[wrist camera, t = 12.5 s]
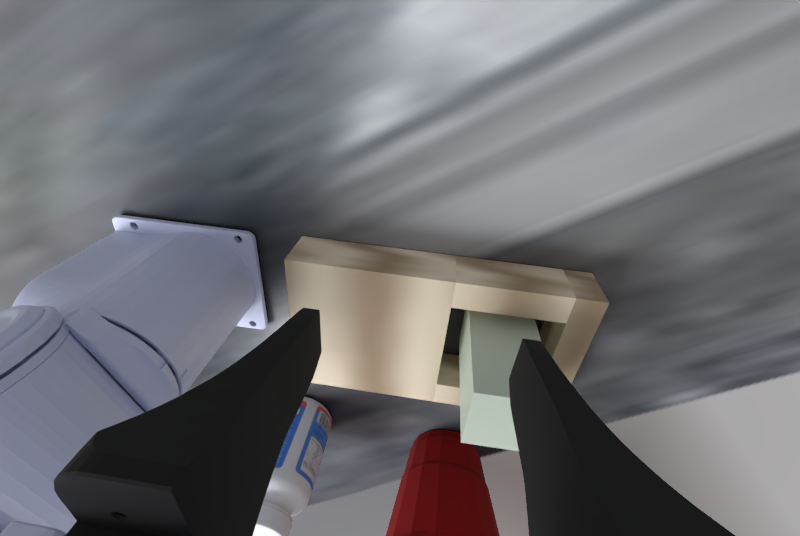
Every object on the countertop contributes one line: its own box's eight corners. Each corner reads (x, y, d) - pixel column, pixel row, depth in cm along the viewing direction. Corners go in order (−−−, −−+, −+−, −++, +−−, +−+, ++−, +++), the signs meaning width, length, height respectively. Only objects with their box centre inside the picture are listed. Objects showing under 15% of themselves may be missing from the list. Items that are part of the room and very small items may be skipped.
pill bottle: (266, 417, 34) (207, 537, 26) (285, 384, 32) (225, 506, 23) (321, 440, 35) (280, 563, 27) (343, 410, 32) (305, 537, 24)
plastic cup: (423, 492, 38) (412, 659, 28) (363, 429, 33) (324, 599, 23) (527, 471, 34) (559, 657, 24) (474, 396, 29) (485, 584, 19)
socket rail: (310, 350, 29) (296, 380, 26) (302, 235, 24) (283, 259, 21) (545, 385, 28) (554, 420, 25) (592, 273, 23) (609, 303, 20)
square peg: (459, 339, 27) (460, 442, 20) (468, 294, 25) (473, 392, 18) (515, 347, 26) (536, 454, 20) (530, 302, 24) (559, 404, 18)
